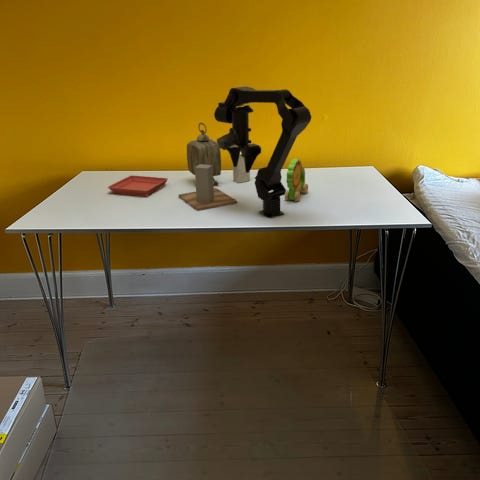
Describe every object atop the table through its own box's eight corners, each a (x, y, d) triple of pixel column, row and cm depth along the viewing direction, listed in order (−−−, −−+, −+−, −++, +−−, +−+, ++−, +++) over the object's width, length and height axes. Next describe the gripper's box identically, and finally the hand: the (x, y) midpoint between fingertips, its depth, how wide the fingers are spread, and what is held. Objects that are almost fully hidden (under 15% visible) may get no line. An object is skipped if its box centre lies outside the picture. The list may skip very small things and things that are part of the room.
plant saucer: (131, 182, 204) (130, 174, 203) (169, 185, 199) (168, 177, 198) (107, 195, 189) (106, 187, 188) (147, 199, 183) (147, 190, 182)
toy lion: (295, 190, 188) (296, 152, 182) (308, 192, 186) (310, 153, 180) (281, 203, 175) (282, 162, 169) (295, 205, 173) (296, 164, 166)
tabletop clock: (222, 185, 195) (219, 124, 185) (202, 189, 191) (198, 126, 181) (206, 177, 207) (203, 119, 197) (187, 180, 203) (183, 121, 193)
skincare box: (238, 183, 198) (237, 154, 193) (232, 180, 202) (231, 152, 197) (250, 180, 201) (250, 152, 196) (244, 178, 205) (244, 150, 200)
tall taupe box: (209, 203, 173) (207, 168, 168) (196, 201, 175) (194, 167, 170) (214, 199, 177) (212, 165, 172) (202, 198, 179) (200, 164, 173)
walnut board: (237, 203, 176) (237, 200, 175) (197, 210, 169) (197, 208, 168) (215, 190, 190) (215, 187, 190) (178, 197, 183) (178, 194, 183)
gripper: (207, 123, 167) (209, 167, 173) (232, 132, 152) (233, 179, 158) (235, 120, 172) (236, 162, 178) (262, 128, 157) (262, 174, 163)
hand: (241, 169), depth 169 cm, fingers open, 9 cm apart
